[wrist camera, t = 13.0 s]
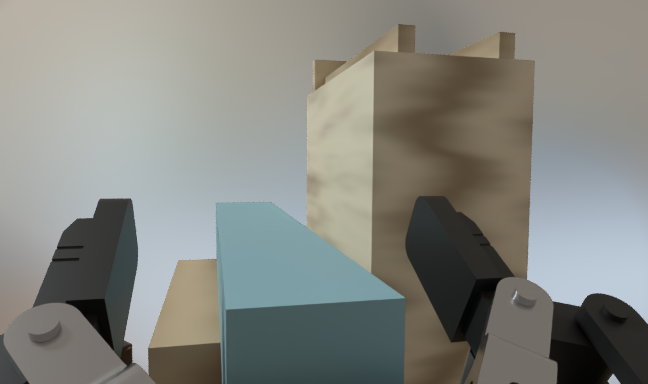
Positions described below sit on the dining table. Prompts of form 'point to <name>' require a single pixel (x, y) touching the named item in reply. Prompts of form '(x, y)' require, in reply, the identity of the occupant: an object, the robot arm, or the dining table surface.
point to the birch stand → (420, 165)
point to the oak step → (188, 328)
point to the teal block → (300, 306)
